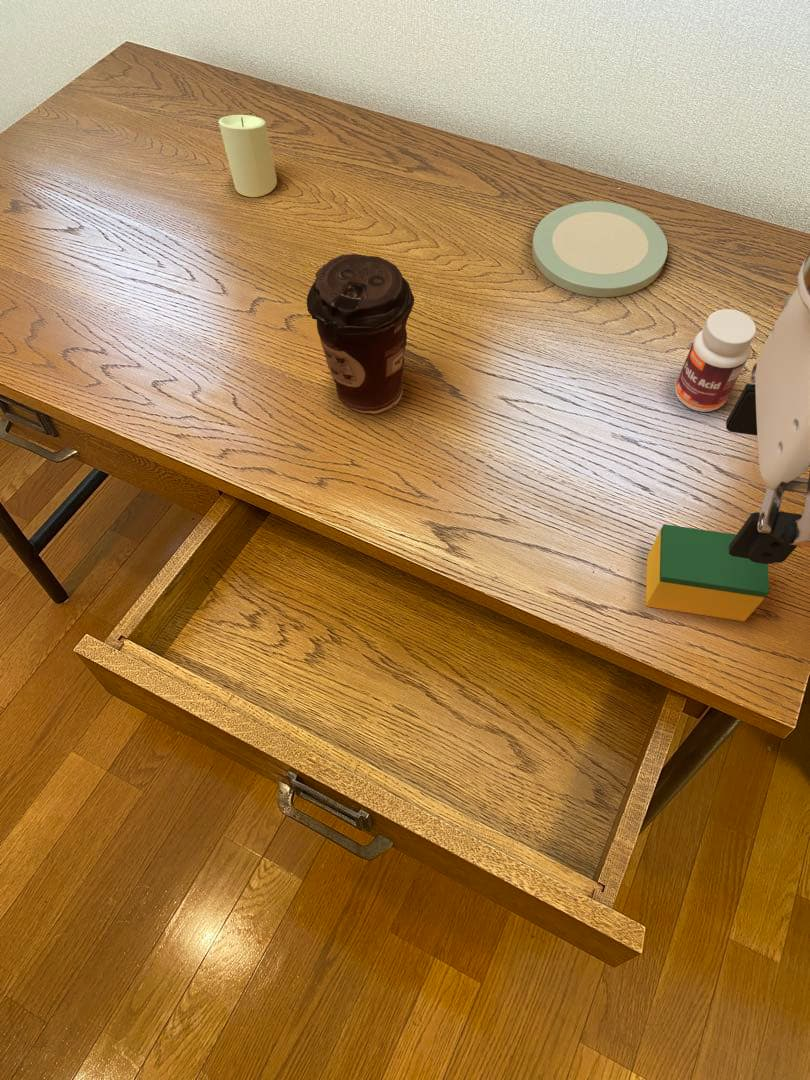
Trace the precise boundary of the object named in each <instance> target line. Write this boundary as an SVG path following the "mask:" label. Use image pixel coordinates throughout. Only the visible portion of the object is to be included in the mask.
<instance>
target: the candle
mask: <svg viewBox="0 0 810 1080" xmlns="http://www.w3.org/2000/svg"><path fill="white" fill-rule="evenodd" d="M217 121H218V126H219V130H220V133H221V138H222V142H223V147H224V150H225V154H226V158H227V161H228V165H229V171H230V174H231V177H232V178H231V179H232V182H233V185H234V189H235V191H236V192H237V193H238V194H240V195H241V196H245V197H247V198H248V197H249V198H259V197H263V196H265V195H268V194H269V193H271V192H272V191H273V190H274V189H276V186H277V185H278V179H277V174H276V168H275V163H274V159H273V154H272V148H271V143H270V137H269V133H268V128H267V123H266V120H264V119H263V118H261V117H258V116H255V115H250V114H232V115H231V114H230V115H226V116H223V117H220V118H219V119H218V120H217Z"/></svg>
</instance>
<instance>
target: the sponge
mask: <svg viewBox="0 0 810 1080" xmlns="http://www.w3.org/2000/svg"><path fill="white" fill-rule="evenodd" d="M736 535H737V533H728V532H721V531H714V530H707V529H700V528H693V527H685V526H679V525H672V524H665V523H663V525H662V526H661V528H660V530H659V532H658V534H657V536H656V538H655V540H654V542H653V544H652V546H651V548H650V550H649V552H648V553H647V556H646V578H645V579H646V580H645V581H646V582H645V607H648V608H653V609H654V608H655V609H661V610H666V611H667V610H668V611H675V612H681V613H685V614H686V613H688V614H693V615H700V616H707V617H713V618H718V619H719V618H720V619H726V620H731V621H732V620H733V621H739V622H746V620H747V619H748V618H749V617H750V616H751V615H752V613H753V612H754V611H755V610H756V609H757V608H758V606H760V604H762V602H763V601H764V600H765V598H766V597H768V595H769V594H770V581H769V564H762V563H756V562H753V561H751V560H750V559H748V558H741V557H735V556H731V555H730V554H729V545H730V543H731V542H732V540H733V539H734V538H735V536H736Z"/></svg>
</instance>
